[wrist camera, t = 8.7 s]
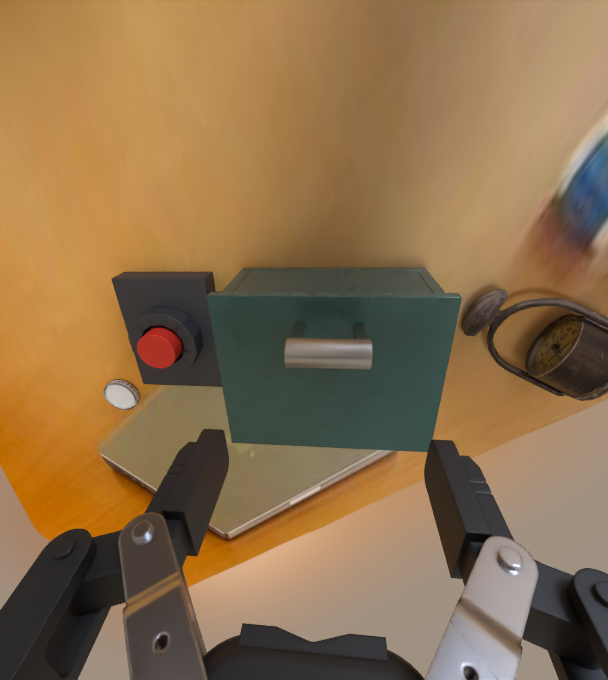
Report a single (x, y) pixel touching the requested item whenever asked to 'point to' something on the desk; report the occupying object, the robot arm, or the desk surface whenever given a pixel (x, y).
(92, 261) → the desk surface
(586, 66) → the desk surface
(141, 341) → the button
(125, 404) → the bottle cap
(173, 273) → the switch block
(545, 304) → the brown handled cylinder
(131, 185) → the desk surface
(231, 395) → the lid
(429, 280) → the dark green open box
